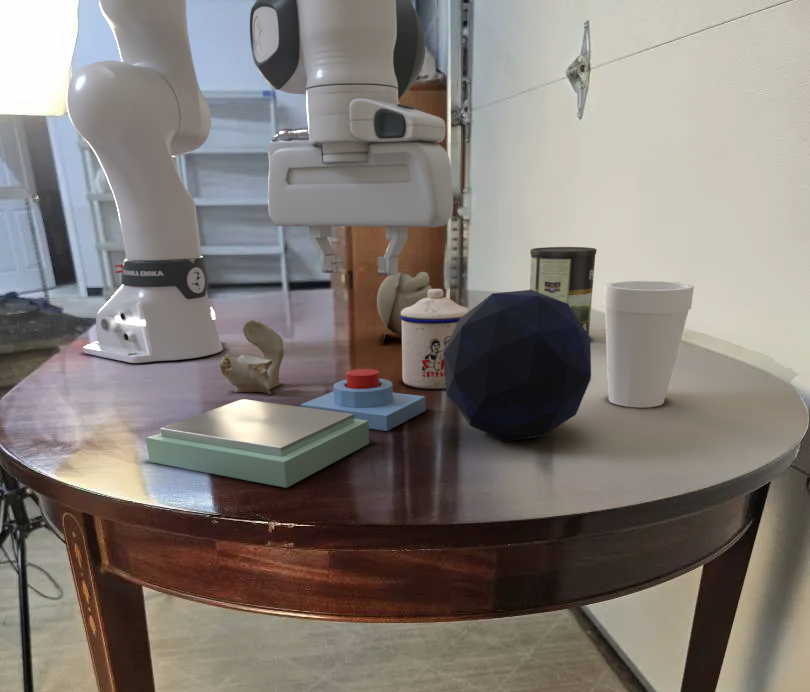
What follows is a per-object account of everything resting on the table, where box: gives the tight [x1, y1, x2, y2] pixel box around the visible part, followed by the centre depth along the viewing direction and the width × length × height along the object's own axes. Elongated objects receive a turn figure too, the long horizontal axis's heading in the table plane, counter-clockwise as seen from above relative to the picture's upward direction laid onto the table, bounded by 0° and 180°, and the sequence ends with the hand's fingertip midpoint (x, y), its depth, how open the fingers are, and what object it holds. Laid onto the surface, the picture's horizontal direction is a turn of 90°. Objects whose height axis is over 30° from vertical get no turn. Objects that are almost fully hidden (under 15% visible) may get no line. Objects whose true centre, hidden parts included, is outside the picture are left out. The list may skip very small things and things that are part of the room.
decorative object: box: [376, 260, 433, 343], centre depth 128 cm, size 13×10×10 cm
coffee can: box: [529, 246, 597, 336], centre depth 125 cm, size 10×10×14 cm
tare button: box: [346, 368, 380, 389], centre depth 86 cm, size 4×4×2 cm
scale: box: [145, 398, 370, 489], centre depth 75 cm, size 16×14×3 cm
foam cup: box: [602, 280, 695, 409], centre depth 88 cm, size 10×9×13 cm
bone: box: [219, 318, 285, 395], centre depth 97 cm, size 9×6×10 cm
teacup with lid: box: [400, 288, 471, 390], centre depth 100 cm, size 12×9×12 cm
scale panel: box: [300, 378, 426, 432], centre depth 87 cm, size 11×9×4 cm
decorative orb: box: [443, 289, 592, 443], centre depth 76 cm, size 14×15×15 cm
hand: (359, 273), depth 81 cm, fingers open, 5 cm apart
